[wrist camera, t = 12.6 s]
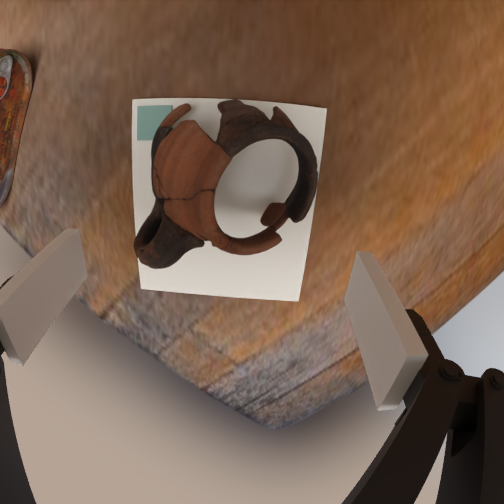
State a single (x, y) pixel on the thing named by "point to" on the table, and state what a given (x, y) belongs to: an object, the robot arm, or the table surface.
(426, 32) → the table surface
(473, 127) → the table surface
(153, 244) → the broken pottery vessel
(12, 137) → the tin
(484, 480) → the robot arm
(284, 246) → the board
